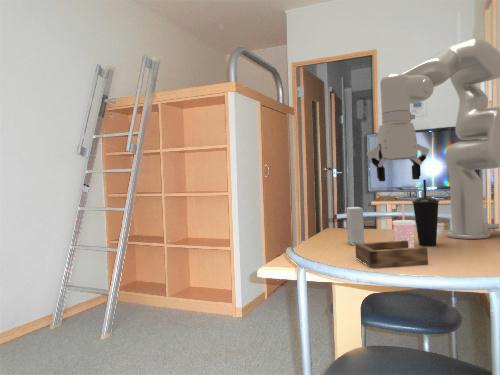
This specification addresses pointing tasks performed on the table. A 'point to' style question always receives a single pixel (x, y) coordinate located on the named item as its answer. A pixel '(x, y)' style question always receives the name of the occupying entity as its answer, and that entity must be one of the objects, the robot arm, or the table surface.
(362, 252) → the dark wooden tray
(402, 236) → the beverage cup
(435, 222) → the drinking cup
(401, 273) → the table surface
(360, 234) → the skincare box
